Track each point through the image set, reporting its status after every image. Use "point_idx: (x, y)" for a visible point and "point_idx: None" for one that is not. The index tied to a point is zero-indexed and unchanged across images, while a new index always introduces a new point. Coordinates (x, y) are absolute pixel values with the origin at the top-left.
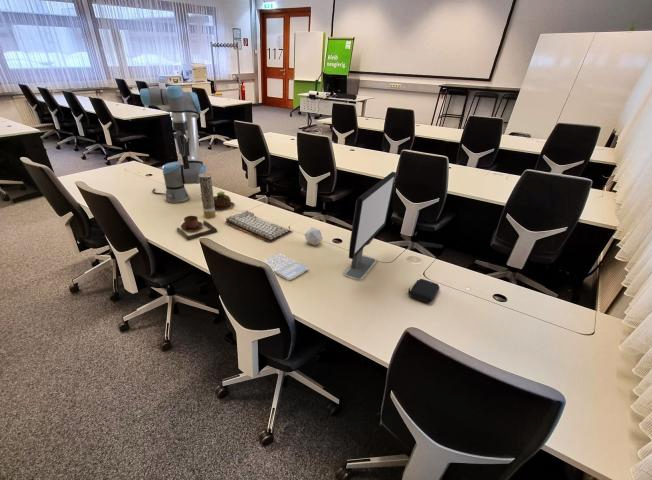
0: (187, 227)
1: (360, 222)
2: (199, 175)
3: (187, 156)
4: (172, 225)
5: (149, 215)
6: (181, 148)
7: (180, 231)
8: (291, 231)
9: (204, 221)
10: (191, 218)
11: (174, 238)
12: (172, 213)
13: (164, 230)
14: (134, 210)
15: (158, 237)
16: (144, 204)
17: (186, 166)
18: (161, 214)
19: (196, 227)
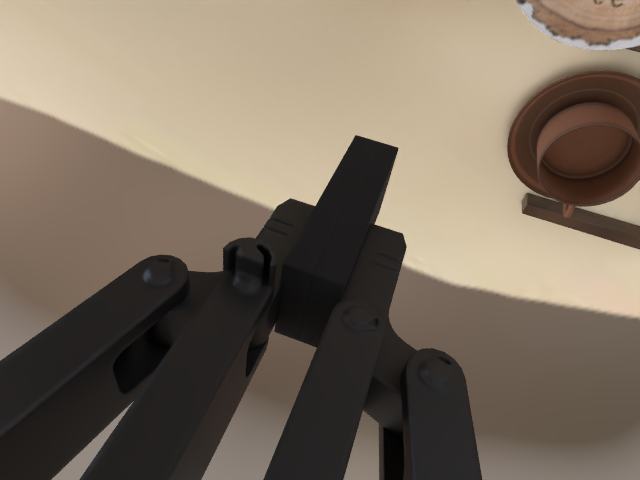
0: (579, 180)
1: None
2: (570, 39)
3: (394, 338)
4: (438, 166)
5: (244, 149)
6: (201, 474)
7: (573, 228)
8: None
9: (638, 46)
10: (558, 128)
11: (569, 256)
12: (296, 55)
13: (452, 222)
14: (150, 151)
15: (488, 277)
16: (94, 73)
17: (378, 209)
18: (269, 106)
19: (627, 137)
